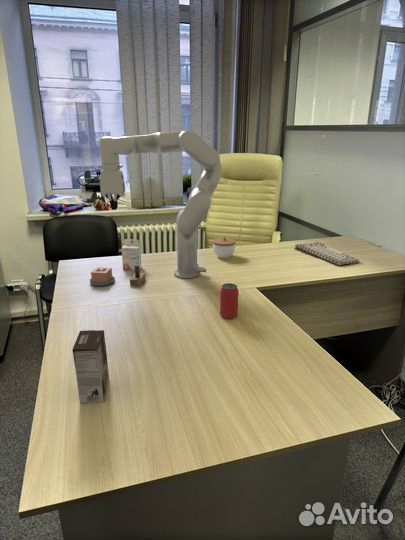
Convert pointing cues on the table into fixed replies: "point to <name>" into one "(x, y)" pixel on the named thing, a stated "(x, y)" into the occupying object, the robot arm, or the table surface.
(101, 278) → the collar
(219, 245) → the lidded bowl
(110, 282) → the hub
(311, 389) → the table surface
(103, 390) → the coffee box
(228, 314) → the beer can
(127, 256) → the ink cartridge box
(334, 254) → the mechanical keyboard
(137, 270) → the stand
